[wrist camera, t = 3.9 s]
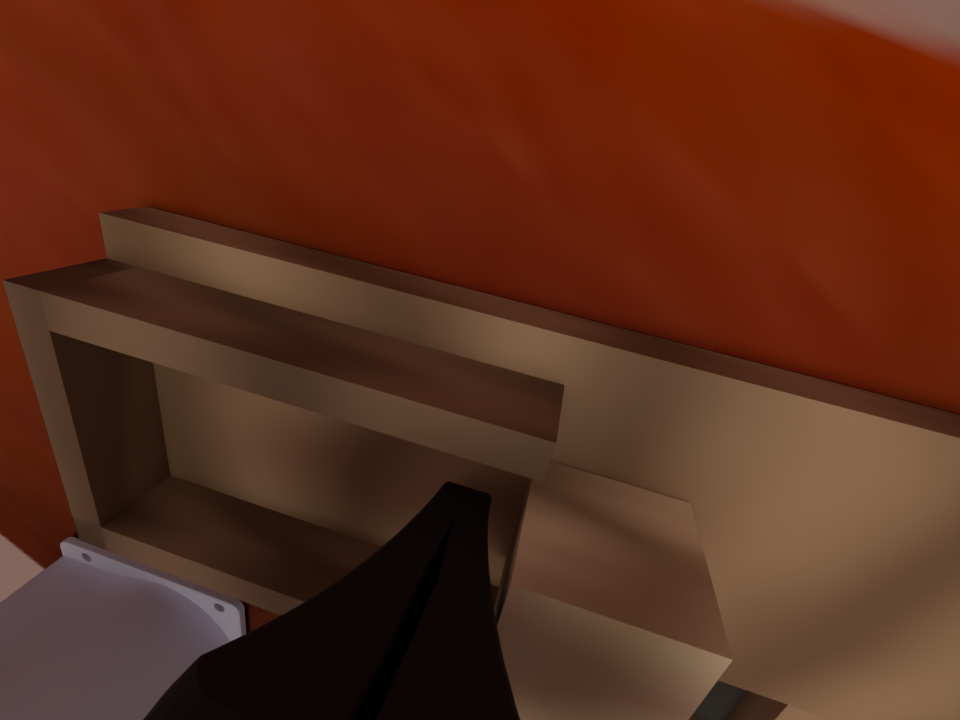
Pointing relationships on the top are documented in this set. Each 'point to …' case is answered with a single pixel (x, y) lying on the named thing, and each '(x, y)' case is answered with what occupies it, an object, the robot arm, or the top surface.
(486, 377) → the cubby
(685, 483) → the board
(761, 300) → the top surface
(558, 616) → the cube
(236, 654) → the robot arm
